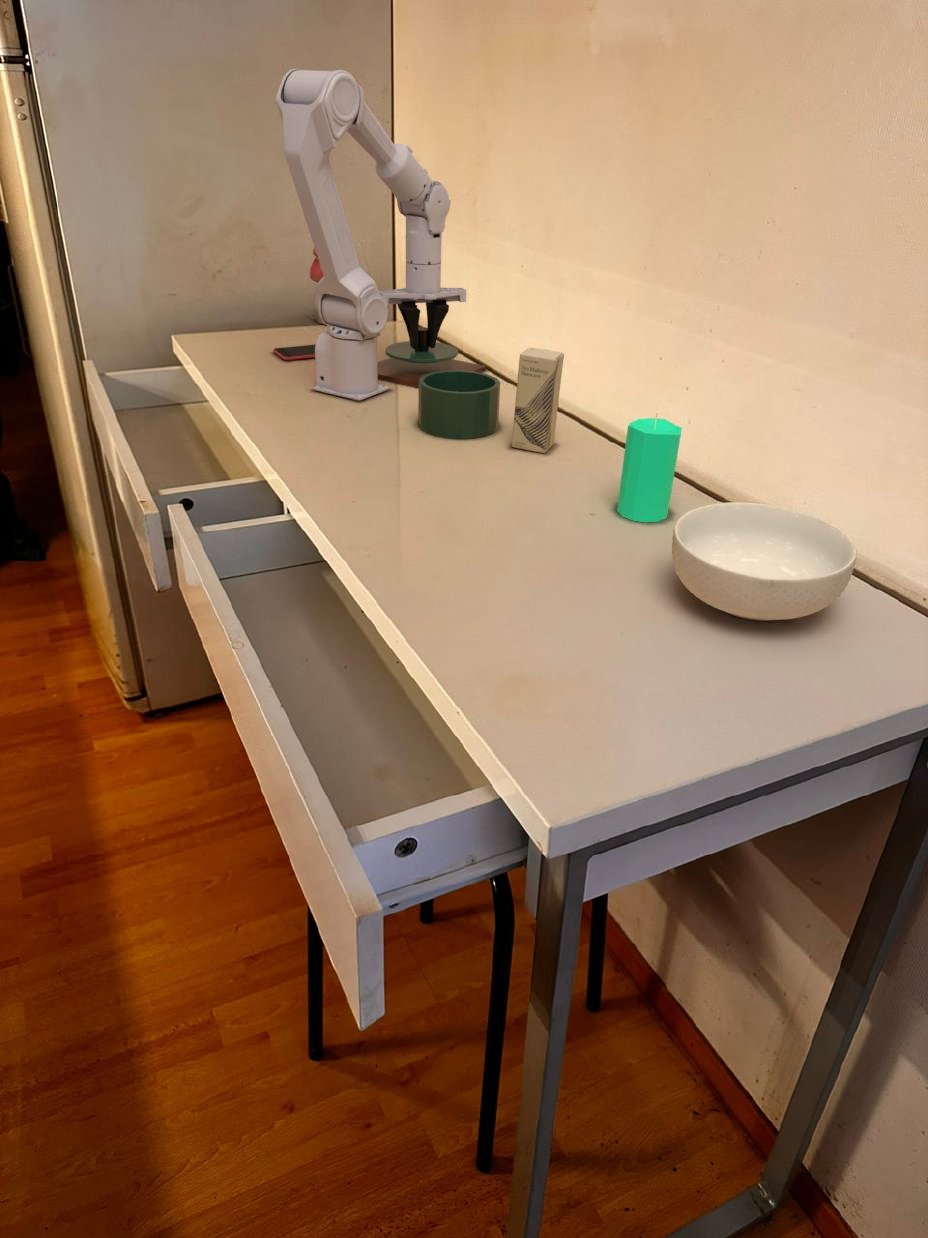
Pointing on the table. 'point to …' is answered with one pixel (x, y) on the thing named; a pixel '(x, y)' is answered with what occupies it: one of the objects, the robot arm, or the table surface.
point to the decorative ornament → (316, 276)
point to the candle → (648, 469)
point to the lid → (421, 350)
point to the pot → (458, 404)
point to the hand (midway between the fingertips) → (422, 347)
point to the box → (537, 399)
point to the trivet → (419, 370)
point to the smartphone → (296, 352)
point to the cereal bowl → (761, 559)
